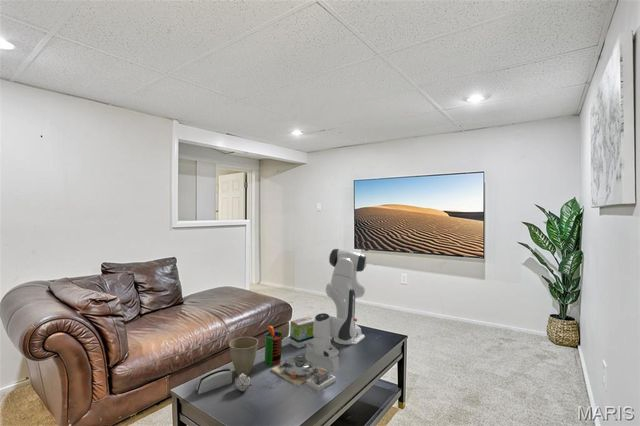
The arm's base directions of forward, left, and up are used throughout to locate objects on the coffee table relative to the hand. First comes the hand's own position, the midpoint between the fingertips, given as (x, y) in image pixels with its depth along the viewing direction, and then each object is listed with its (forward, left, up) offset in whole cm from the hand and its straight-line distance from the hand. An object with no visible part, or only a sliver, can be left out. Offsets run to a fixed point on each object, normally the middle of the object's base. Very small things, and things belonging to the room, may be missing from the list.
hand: (321, 374), depth 164 cm
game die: (+31, -22, -4) cm, 39 cm away
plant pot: (+21, -36, -4) cm, 42 cm away
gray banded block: (0, 0, -4) cm, 4 cm away
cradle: (0, 0, -4) cm, 4 cm away
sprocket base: (-1, -16, -4) cm, 17 cm away
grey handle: (+39, -34, -5) cm, 52 cm away
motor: (+3, -34, -4) cm, 35 cm away
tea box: (-27, -40, -4) cm, 49 cm away
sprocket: (-1, -16, -3) cm, 17 cm away
